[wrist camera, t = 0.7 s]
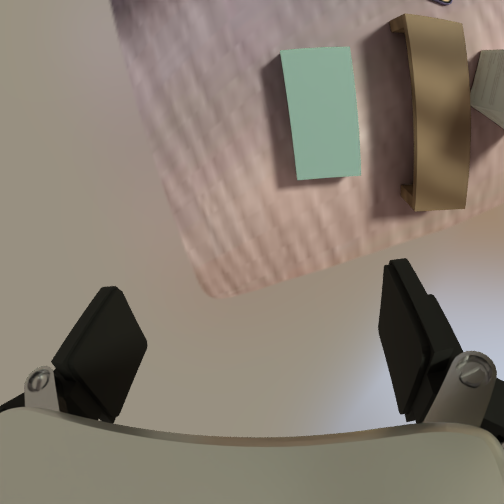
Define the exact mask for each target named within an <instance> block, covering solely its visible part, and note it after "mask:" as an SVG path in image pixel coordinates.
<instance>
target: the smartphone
mask: <svg viewBox="0 0 504 504" xmlns="http://www.w3.org/2000/svg"><path fill="white" fill-rule="evenodd" d="M433 1H435V2H438V3H440V4H443V5H449V4H451V3H452V0H433Z"/></svg>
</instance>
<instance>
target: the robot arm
mask: <svg viewBox="0 0 504 504" xmlns="http://www.w3.org/2000/svg"><path fill="white" fill-rule="evenodd" d="M378 330H379V336H380V339H381V343H382V346H383V350H384V354H385V357H386V361H387V365H388V368H389V372H390V376H391V380H392V384H393V388H394V392H395V396H396V401H397V405H398V410H399V413H400V414H405V417H406V422H410V421H414V420H416V424H408V425H402V426H394V427H386V428H378V429H371V430H365V431H356V432H347V433H338V434H325V435H313V436H298V437H267V438H266V437H264V438H263V437H257V438H255V437H219V436H203V435H190V434H180V433H171V432H162V431H155V430H148V429H141V428H135V427H129V426H123V425H117V424H113V423H114V421H115V418H116V417H117V416H119V414H120V412H121V409H122V407H123V404H124V402H125V399H126V397H127V394H128V392H129V390H130V387H131V384H132V382H133V380H134V377H135V375H136V373H137V370H138V368H139V366H140V363H141V361H142V359H143V356H144V354H145V352H146V349H147V340H146V338H145V336H144V334H143V333H142V331H141V329H140V327H139V325H138V323H137V321H136V319H135V317H134V315H133V313H132V311H131V309H130V307H129V305H128V303H127V300H126V298H125V296H124V294H123V292H122V291H121V290H119V289H118V288H117V287H116V286H110V287H102V288H101V289H100V291H99V292H98V293H97V294H96V296H95V297H94V299H93V300H92V301H91V303H90V304H89V306H88V307H87V308H86V310H85V311H84V313H83V314H82V316H81V317H80V318H79V320H78V321H77V323H76V324H75V326H74V327H73V329H72V330H71V332H70V333H69V335H68V336H67V338H66V339H65V341H64V342H63V344H62V345H61V347H60V349H59V350H58V352H57V353H56V355H55V356H54V358H53V360H52V361H51V362H52V364H53V365H54V366H55V368H56V369H55V370H54V371H53V370H52V369H51V368H50V367H48V366H42V367H39V368H37V369H35V370H34V371H33V372H32V373H30V374H29V376H28V377H27V379H26V382H25V386H24V393H22V394H21V395H19V396H17V397H15V398H14V399H12V400H10V401H8V402H6V403H5V404H3V405H1V406H0V504H504V381H502V380H500V379H498V378H496V375H497V371H496V367H495V365H494V363H493V361H492V360H491V359H490V358H489V357H488V356H487V355H485V354H483V353H481V352H476V351H466V352H463V350H462V348H461V346H460V344H459V342H458V340H457V338H456V336H455V334H454V332H453V330H452V328H451V326H450V324H449V322H448V320H447V318H446V316H445V314H444V312H443V311H442V309H441V307H440V305H439V303H438V301H437V300H436V298H435V297H434V295H432V294H429V295H427V293H426V291H425V289H424V287H423V285H422V284H421V282H420V280H419V278H418V277H417V275H416V273H415V271H414V270H413V268H412V267H411V264H410V263H409V261H408V260H407V259H406V258H404V259H396V260H390V262H389V265H385V266H384V273H383V286H382V297H381V308H380V316H379V325H378ZM98 419H100V420H101V421H98Z"/></svg>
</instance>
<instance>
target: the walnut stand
mask: <svg viewBox="0 0 504 504" xmlns="http://www.w3.org/2000/svg"><path fill="white" fill-rule="evenodd" d="M389 22H390V28H391V32H395V33H405V38H406V44H407V52H408V59H409V68H410V78H411V89H412V104H413V126H414V177H413V184H411V185H401V197H402V198H403V199H404V200H405V201H406V202H407V203H408V204H409V205H410V207H411V208H412V209H413V210H414V211H432V210H450V209H465V205H466V197H467V188H468V177H469V164H470V142H471V106H470V85H469V72H468V61H467V53H466V45H465V38H464V32H463V26H462V23H457V22H453V21H448V20H443V19H438V18H432V17H426V16H420V15H412V14H403V15H401V16H399V17H397V18H395V19H393V20H391V21H389Z"/></svg>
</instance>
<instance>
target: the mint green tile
mask: <svg viewBox="0 0 504 504" xmlns="http://www.w3.org/2000/svg"><path fill="white" fill-rule="evenodd" d="M280 56H281V62H282V69H283V75H284V82H285V88H286V95H287V103H288V110H289V117H290V125H291V133H292V141H293V149H294V158H295V167H296V175H297V180H306V179H318V178H331V177H345V176H361V160H360V140H359V125H358V113H357V102H356V92H355V83H354V74H353V66H352V59H351V52H350V47H321V48H304V49H291V50H281V51H280Z"/></svg>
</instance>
